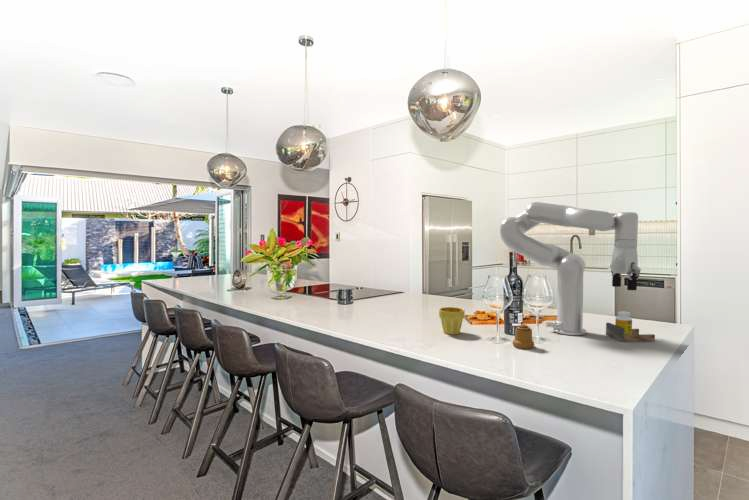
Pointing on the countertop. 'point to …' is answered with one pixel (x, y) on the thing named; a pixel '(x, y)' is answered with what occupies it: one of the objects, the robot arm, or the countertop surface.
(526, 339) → the ornamental finial
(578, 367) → the countertop surface
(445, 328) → the plant pot
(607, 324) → the guide track
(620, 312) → the supplement bottle
